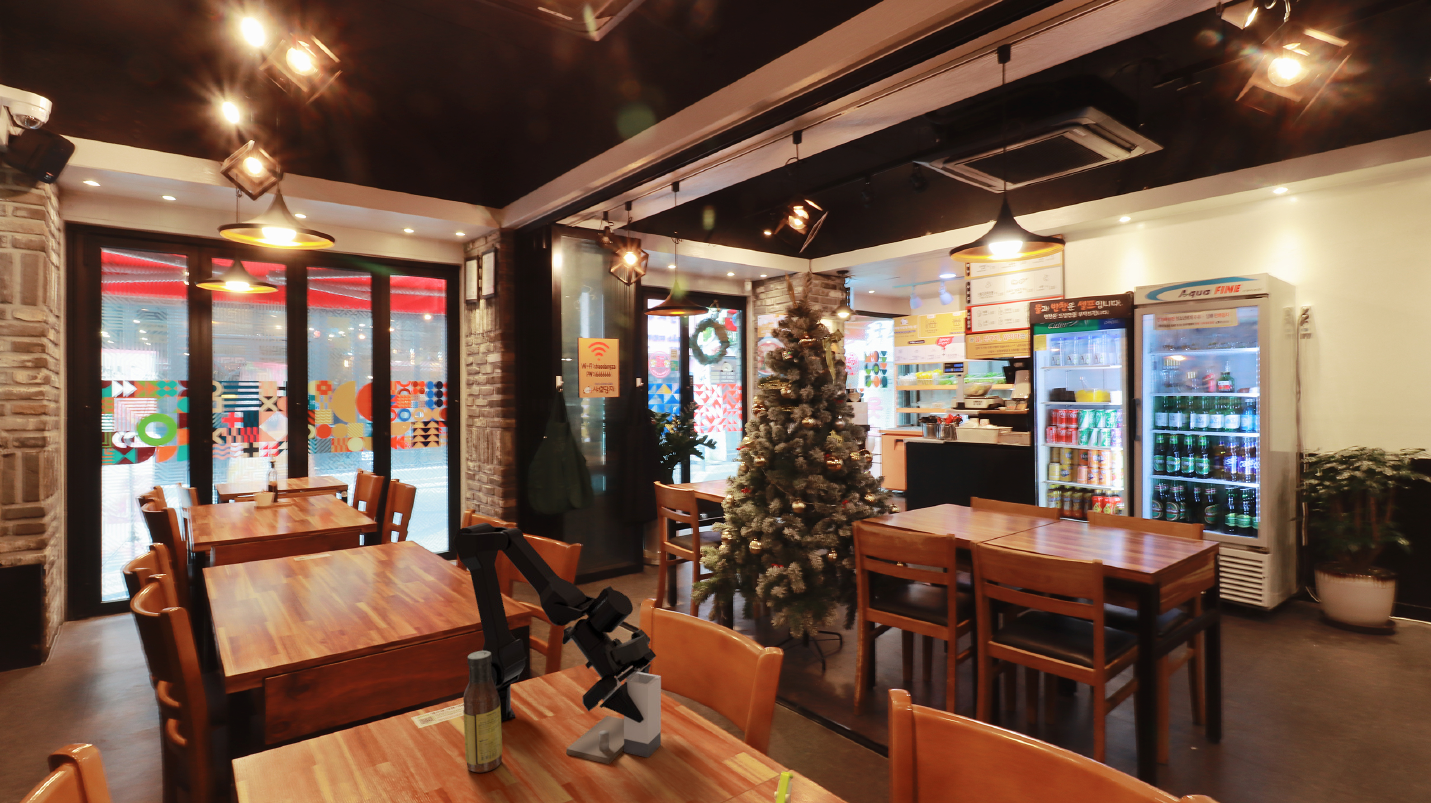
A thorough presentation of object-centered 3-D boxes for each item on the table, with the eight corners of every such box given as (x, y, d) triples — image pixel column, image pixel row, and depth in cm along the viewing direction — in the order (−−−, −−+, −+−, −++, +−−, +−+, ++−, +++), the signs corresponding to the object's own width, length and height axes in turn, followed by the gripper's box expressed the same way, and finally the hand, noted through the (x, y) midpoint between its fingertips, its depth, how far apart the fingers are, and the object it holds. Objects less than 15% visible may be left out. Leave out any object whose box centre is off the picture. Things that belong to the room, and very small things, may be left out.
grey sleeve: (623, 752, 127) (624, 681, 127) (637, 739, 132) (637, 671, 132) (648, 757, 125) (648, 686, 125) (660, 745, 130) (660, 675, 130)
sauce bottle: (507, 756, 126) (507, 648, 125) (493, 775, 119) (492, 661, 119) (473, 755, 126) (472, 647, 126) (457, 773, 120) (456, 660, 120)
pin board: (566, 754, 127) (566, 732, 127) (606, 720, 139) (606, 700, 139) (608, 764, 123) (608, 741, 123) (646, 728, 136) (646, 708, 136)
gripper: (596, 637, 121) (652, 711, 117) (647, 606, 138) (697, 670, 134) (559, 675, 124) (612, 748, 120) (613, 640, 141) (661, 703, 137)
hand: (649, 714), depth 128 cm, fingers closed on grey sleeve, 5 cm apart
